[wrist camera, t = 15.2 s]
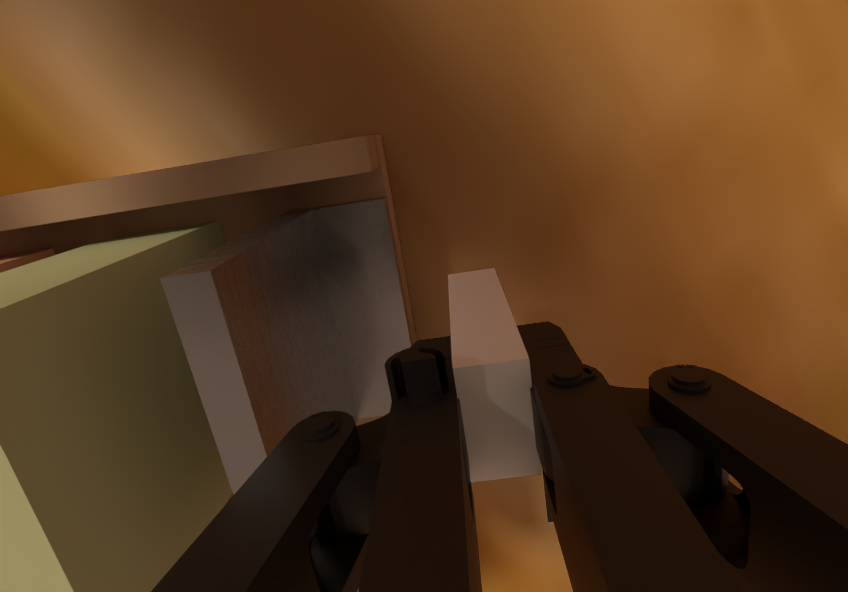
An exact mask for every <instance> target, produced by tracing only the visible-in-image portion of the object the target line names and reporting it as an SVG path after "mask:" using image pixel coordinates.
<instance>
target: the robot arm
mask: <svg viewBox="0 0 848 592" xmlns="http://www.w3.org/2000/svg"><path fill="white" fill-rule="evenodd" d="M448 291H449V311H450V332H451V336H448V337H441V338H434V339H426V340H419V341H416V342H415V343H414V344H413V345H412V346H411V347H410V348H407V349H404V350H402V351H400V352H397V353H395V354H394V355H392V356H391V357H389V358H388V359H387V361H386V362H385V364H384V366H385V371H386V376H387V380H388V385H389V390H390V395H391V400H392V402H391V408H390V412H389V413H388V414H386V415H384V416H383V417H381V418H378V419H376V420H373V421H371V422H368V423H364V424H361V425H358V426H356V424H355V421H354V418H353V416H351V415H350V414H348V413H346V412H341V411H323V412H319V413H318V414H317V413H316V414H313V415H310V416H309V417H307V418H306V419H304V420H302V421H300V422H298V423H297V424H296V425H295V426H294V427H293V428H291V429H290V431H289V432H288V433H287V434H286V435H285V436H284V438H283V439H282V440H281V441H280V442H279V443H278V445H277V446H276V447H275V448H274V449H273V450H272V451H271V453H270V454H269V455H268V456H267V457H266V458H265V460H264V461H263V462H262V463H261V464H260V465H259V467H258V468H257V469H256V470H255V471H254V472H253V474H252V475H251V476H250V477H249V478H248V479H247V480H246V482H245V483H244V484H243V485H242V486H241V487H240V489H239V490H238V491H237V492H236V493H235V494H234V496H233V497H232V498H231V499H230V500H229V501H228V503H227V504H226V505H225V506H224V507H223V508H222V509H221V511H220V512H219V513H218V514H217V515H216V516H215V518H214V519H213V520H212V521H211V522H210V523H209V525H208V526H207V527H206V528H205V529H204V530H203V532H202V533H201V534H200V535H199V536H198V537H197V538H196V540H195V541H194V542H193V543H192V544H191V545H190V547H189V548H188V549H187V550H186V551H185V552H184V554H183V555H182V556H181V557H180V558H179V559H178V561H177V562H176V563H175V564H174V565H173V566H172V567H171V569H170V570H169V571H168V572H167V573H166V574H165V576H164V577H163V578H162V579H161V580H160V581H159V583H158V584H157V585H156V586H155V587H154V588H153V590H152V591H151V592H357V591H358V588H359V591H358V592H482V585H481V575H480V564H479V553H478V542H477V532H476V521H475V510H474V499H473V493H472V487H471V482H480V481H489V480H498V479H507V478H516V477H525V476H534V475H541V468H540V462H541V466H542V469H543V477H544V487H545V497H546V507H547V517H548V522H554V525H555V529H556V532H557V536H558V539H559V543H560V546H561V550H562V553H563V557H564V560H565V564H566V567H567V571H568V575H569V578H570V582H571V585H572V589H573V592H848V444H846V443H844V442H842V441H841V440H839V439H837V438H835V437H833V436H832V435H830V434H828V433H826V432H824V431H823V430H821V429H819V428H817V427H815V426H814V425H812V424H810V423H808V422H806V421H805V420H803V419H801V418H799V417H797V416H796V415H794V414H792V413H790V412H788V411H787V410H785V409H783V408H781V407H779V406H778V405H776V404H774V403H772V402H770V401H769V400H767V399H765V398H763V397H762V396H760V395H758V394H756V393H754V392H753V391H751V390H749V389H747V388H745V387H744V386H742V385H740V384H738V383H736V382H735V381H733V380H731V379H729V378H727V377H726V376H724V375H722V374H720V373H717V372H715V371H712V370H710V369H707V368H701V367H697V366H694V365H686V366H684V365H675V366H671V367H664V368H662V369H659V370H657V371H654V372H653V373H652V375H651V376H650V377H649V389H640V388H624V387H616V386H612V385H609V384H608V383H607V381H606V379H605V378H604V376H603V375H602V374H601V373H600V372H599V371H598V370H597V369H596V368H593V367H591V366H588V365H585V364H582V362H581V360H580V359H579V357H578V355H577V354H576V352H575V350H574V349H573V347H572V346H571V344H570V342H569V341H568V339H567V338H566V336H565V334H564V332H563V331H562V329H561V328H560V327H558V326H556V325H554V324H552V323H550V322H541V323H534V324H526V325H519V326H516V323H515V321H514V318H513V315H512V313H511V310H510V308H509V305H508V302H507V300H506V297H505V295H504V292H503V289H502V287H501V284H500V282H499V279H498V276H497V274H496V271H495V269H494V268H490V269H483V270H476V271H469V272H462V273H455V274H449V275H448ZM729 474H731V475H732V476H733V477H734V478H735V479H736V480H737V481H738V482H739V483H740V485H741V486H742V488H743V490H741V489H739V488H737V487H736V486H735V485H734V484H732V483H731V482H730V481H729V480H728V478H729Z"/></svg>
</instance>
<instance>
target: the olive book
mask: <svg viewBox="0 0 848 592" xmlns="http://www.w3.org/2000/svg"><path fill="white" fill-rule="evenodd" d="M224 244H225V241H224V238H223V234H222V231H221V228H220V224H219V221H212V222H205V223H199V224H193V225H186V226H180V227H173V228H167V229H160V230H154V231H147V232H141V233H134V234H128V235H121V236H115V237H110V238H107V239H104V240H101V241H97V242H94V243H91V244H88V245H85V246H82V247H79V248H76V249H73V250H70V251H67V252H63V253H60V254H57V255H54V256H51V257H48V258H45V259H42V260H39V261H36V262H32V263H29V264H26V265H23V266H20V267H17V268H14V269H11V270H8V271H5V272H2V273H0V592H151V591H152V590H153V588H154V587H155V586H156V585H157V584H158V583H159V581H160V580H161V579H162V578H163V577H164V576H165V574H166V573H167V572H168V571H169V570H170V569H171V567H172V566H173V565H174V564H175V563H176V562H177V561H178V559H179V558H180V557H181V556H182V555H183V554H184V552H185V551H186V550H187V549H188V548H189V547H190V545H191V544H192V543H193V542H194V541H195V540H196V538H197V537H198V536H199V535H200V534H201V533H202V532H203V530H204V529H205V528H206V527H207V526H208V525H209V523H210V522H211V521H212V520H213V519H214V518H215V516H216V515H217V514H218V513H219V512H220V511H221V509H222V508H223V507H224V506H225V504H226V502H227V500H228V499H229V497H230V495H231V494H232V489H231V486H230V483H229V480H228V477H227V475H226V472H225V469H224V466H223V463H222V460H221V457H220V454H219V451H218V448H217V445H216V442H215V439H214V436H213V433H212V430H211V427H210V424H209V421H208V418H207V415H206V413H205V410H204V407H203V404H202V401H201V398H200V395H199V392H198V389H197V386H196V383H195V380H194V377H193V374H192V371H191V368H190V365H189V362H188V359H187V356H186V353H185V351H184V348H183V345H182V342H181V339H180V336H179V333H178V330H177V327H176V324H175V321H174V318H173V315H172V312H171V309H170V306H169V303H168V300H167V297H166V294H165V292H164V289H163V286H162V283H161V280H160V278H162V277H164V276H166V275H168V274H169V273H171V272H173V271H175V270H177V269H179V268H181V267H183V266H185V265H187V264H188V263H190V262H192V261H194V260H196V259H198V258H200V257H202V256H204V255H205V254H207V253H209V252H211V251H213V250H215V249H217V248H219V247H221V246H223V245H224Z"/></svg>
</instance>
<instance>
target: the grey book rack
mask: <svg viewBox="0 0 848 592" xmlns="http://www.w3.org/2000/svg"><path fill="white" fill-rule="evenodd" d="M385 196H386V197H387V203H388V208H389V214H390V219H391V225H392V231H393V236H394V242H395V247H396V253H397V259H398V264H399V270H400V275H401V281H402V287H403V292H404V298H405V303H406V309H407V315H408V320H409V326H410V331H411V337H412V343H413V344H414V343H415V342H416V341H417V337H416V331H415V325H414V319H413V314H412V308H411V302H410V297H409V291H408V285H407V279H406V274H405V268H404V262H403V257H402V251H401V245H400V239H399V234H398V228H397V222H396V217H395V211H394V205H393V199H392V194H391V188H390V182H389V177H388V171H387V165H386V159H385V154H384V148H383V142H382V137H381V134H379V135H365V136H359V137H353V138H347V139H341V140H335V141H329V142H323V143H317V144H311V145H305V146H299V147H293V148H287V149H281V150H275V151H269V152H263V153H257V154H251V155H245V156H239V157H233V158H227V159H221V160H215V161H209V162H203V163H197V164H191V165H185V166H179V167H173V168H167V169H161V170H155V171H149V172H143V173H137V174H131V175H125V176H119V177H113V178H106V179H100V180H94V181H88V182H82V183H76V184H70V185H64V186H58V187H52V188H46V189H40V190H34V191H28V192H22V193H16V194H10V195H4V196H0V256H5V255H11V254H17V253H24V252H30V251H37V250H43V249H49V248H53V251H54V253H55V255H57V254H60V253H63V252H67V251H70V250H73V249H76V248H79V247H82V246H85V245H88V244H91V243H94V242H97V241H101V240H104V239H107V238H110V237H115V236H121V235H128V234H134V233H141V232H147V231H154V230H160V229H167V228H173V227H180V226H186V225H193V224H199V223H205V222H212V221H219V224H220V228H221V231H222V234H223V238H224V241H225V244H226V243H228V242H230V241H232V240H234V239H236V238H238V237H240V236H242V235H243V234H245V233H247V232H249V231H251V230H253V229H255V228H257V227H259V226H261V225H262V224H264V223H266V222H268V221H270V220H272V219H274V218H276V217H278V216H280V215H281V214H283V213H285V212H289V211H296V210H302V209H308V208H315V207H321V206H328V205H334V204H341V203H347V202H353V201H360V200H366V199H373V198H379V197H385ZM381 417H383V416H377V417H369V418H360V419H358V420H357V423H356V426H358V425H361V424H364V423H368V422H371V421H373V420H376V419H378V418H381Z"/></svg>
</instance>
